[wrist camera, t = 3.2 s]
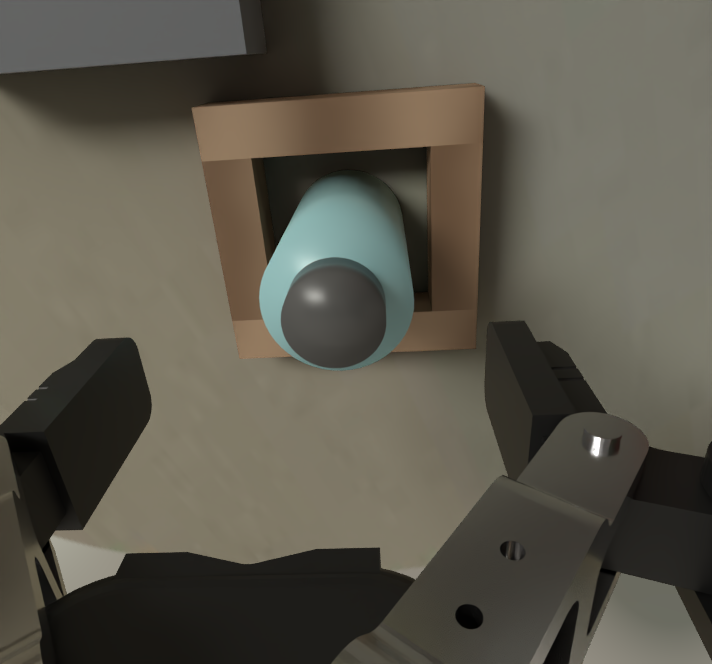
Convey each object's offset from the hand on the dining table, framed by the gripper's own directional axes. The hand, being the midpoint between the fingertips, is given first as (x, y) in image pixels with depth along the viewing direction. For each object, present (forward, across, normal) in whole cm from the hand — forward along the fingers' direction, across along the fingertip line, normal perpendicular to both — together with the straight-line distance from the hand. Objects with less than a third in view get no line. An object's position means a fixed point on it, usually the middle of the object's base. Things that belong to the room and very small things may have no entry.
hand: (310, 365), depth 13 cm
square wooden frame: (+11, 0, 0) cm, 11 cm away
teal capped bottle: (+11, 0, 0) cm, 11 cm away
